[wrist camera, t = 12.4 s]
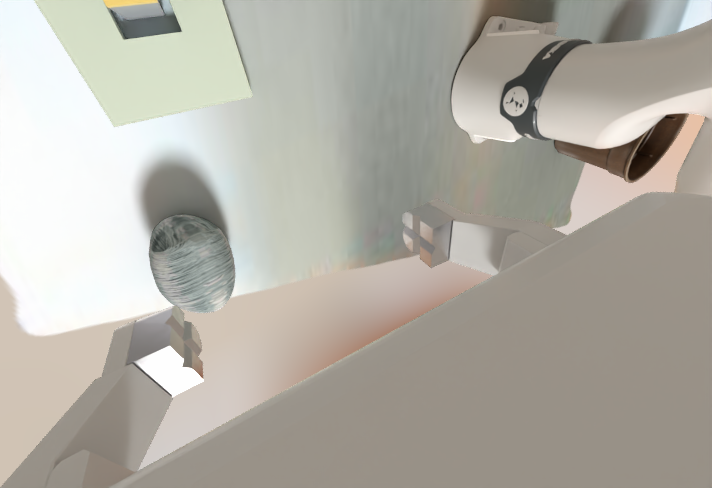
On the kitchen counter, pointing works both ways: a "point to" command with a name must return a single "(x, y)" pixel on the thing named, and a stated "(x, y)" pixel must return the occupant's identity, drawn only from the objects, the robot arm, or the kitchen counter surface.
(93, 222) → the kitchen counter surface
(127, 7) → the grey and yellow block
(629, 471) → the robot arm
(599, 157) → the plant pot
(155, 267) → the grey oval lump
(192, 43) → the notched board
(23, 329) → the kitchen counter surface
